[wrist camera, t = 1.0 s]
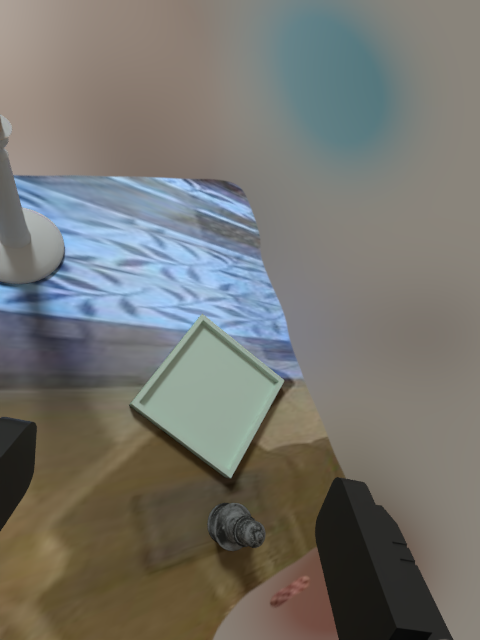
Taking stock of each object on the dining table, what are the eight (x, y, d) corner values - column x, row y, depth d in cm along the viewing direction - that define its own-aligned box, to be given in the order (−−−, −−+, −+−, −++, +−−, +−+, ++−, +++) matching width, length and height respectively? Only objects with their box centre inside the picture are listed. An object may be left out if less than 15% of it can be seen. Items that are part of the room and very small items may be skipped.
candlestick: (20, 195, 57) (-16, -18, 32) (82, 251, 58) (95, 88, 33) (-58, 238, 51) (-184, 12, 25) (13, 300, 52) (-38, 143, 26)
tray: (225, 477, 56) (230, 478, 54) (128, 405, 53) (131, 403, 52) (278, 382, 65) (284, 380, 63) (198, 317, 63) (202, 313, 61)
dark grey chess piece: (248, 512, 55) (289, 524, 45) (231, 553, 52) (271, 575, 42) (217, 493, 54) (252, 500, 44) (198, 533, 51) (230, 551, 41)
